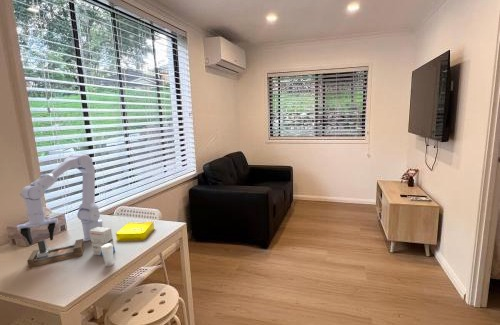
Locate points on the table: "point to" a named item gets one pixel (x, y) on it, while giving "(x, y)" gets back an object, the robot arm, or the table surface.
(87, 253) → the table surface
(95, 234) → the ink box
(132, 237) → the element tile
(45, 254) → the sliding jaw
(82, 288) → the table surface
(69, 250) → the base
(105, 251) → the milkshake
